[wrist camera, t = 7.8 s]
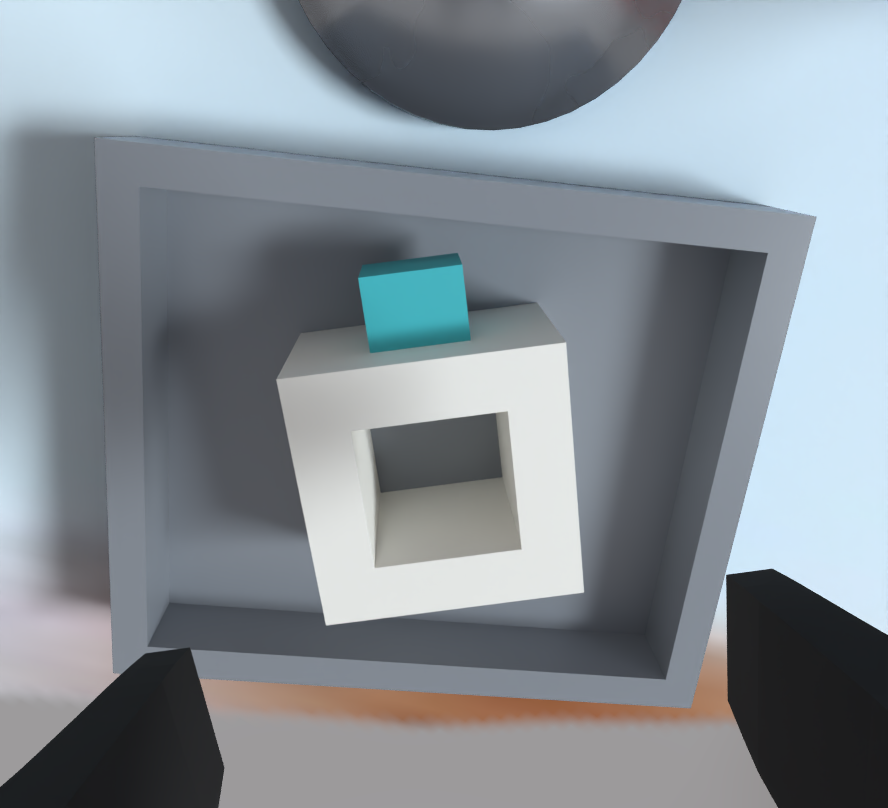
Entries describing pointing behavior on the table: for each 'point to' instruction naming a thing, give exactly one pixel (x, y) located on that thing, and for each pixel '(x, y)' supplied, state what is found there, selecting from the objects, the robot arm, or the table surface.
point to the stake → (489, 53)
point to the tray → (434, 442)
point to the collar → (421, 400)
